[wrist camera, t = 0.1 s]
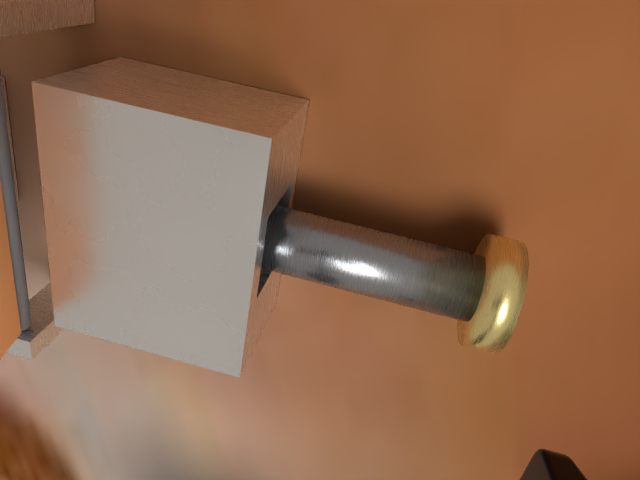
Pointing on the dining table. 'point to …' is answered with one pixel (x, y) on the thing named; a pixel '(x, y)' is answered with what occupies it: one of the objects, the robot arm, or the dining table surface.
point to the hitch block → (155, 201)
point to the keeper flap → (10, 249)
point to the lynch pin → (406, 271)
